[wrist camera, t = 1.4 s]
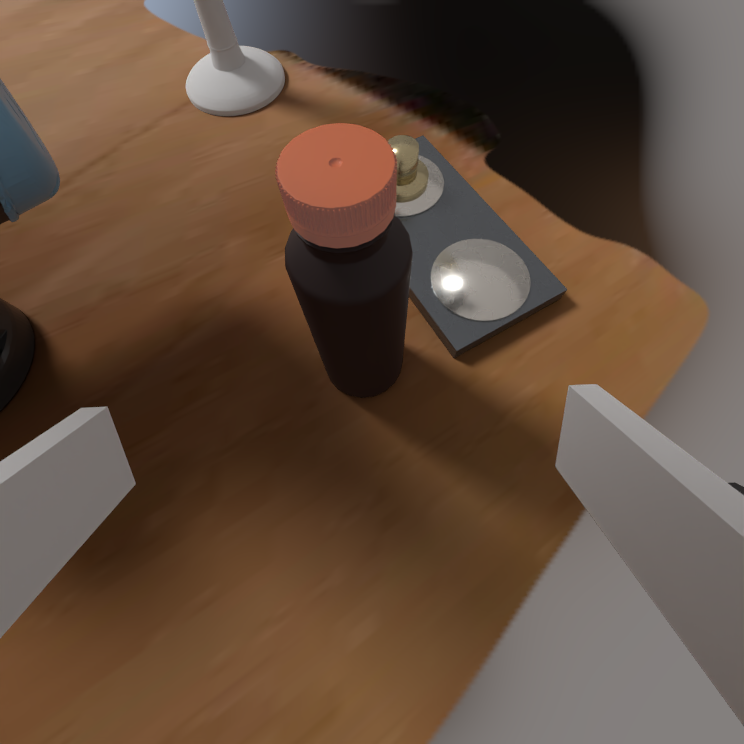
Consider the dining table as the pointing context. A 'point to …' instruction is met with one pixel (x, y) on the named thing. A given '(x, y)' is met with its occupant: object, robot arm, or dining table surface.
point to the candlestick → (231, 69)
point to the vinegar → (348, 252)
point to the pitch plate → (463, 253)
